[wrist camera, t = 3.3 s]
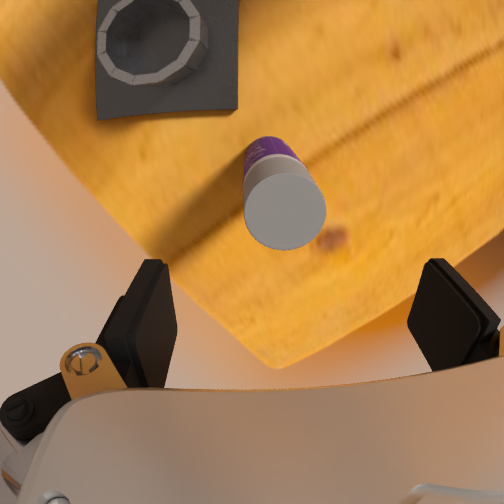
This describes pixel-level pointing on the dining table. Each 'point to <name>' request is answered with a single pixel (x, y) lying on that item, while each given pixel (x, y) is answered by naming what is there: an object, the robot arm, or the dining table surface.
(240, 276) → the dining table surface
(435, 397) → the robot arm
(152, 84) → the duct collar
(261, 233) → the container
